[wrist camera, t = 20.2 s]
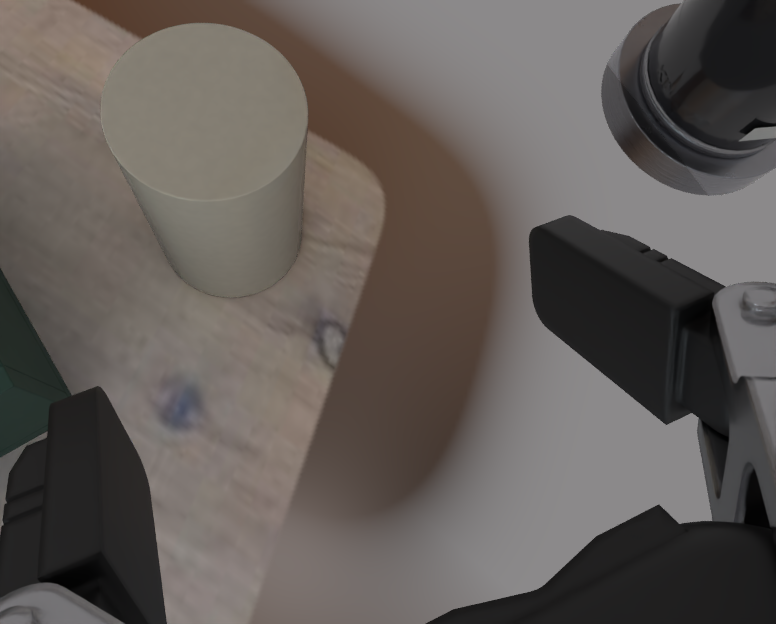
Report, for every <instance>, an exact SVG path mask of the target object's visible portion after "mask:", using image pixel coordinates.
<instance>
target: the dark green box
mask: <svg viewBox="0 0 776 624" xmlns="http://www.w3.org/2000/svg"><path fill="white" fill-rule="evenodd" d="M70 396H72V395H71V393H70V392H69V390H68V388H67V386H66V384H65V383H64V381H63V379H62V377H61V376H60V374H59V372H58V370H57V368H56V367H55V365H54V363H53V361H52V360H51V358H50V356H49V354H48V352H47V351H46V349H45V347H44V345H43V344H42V342H41V340H40V338H39V336H38V335H37V333H36V331H35V329H34V328H33V326H32V324H31V322H30V320H29V319H28V317H27V315H26V313H25V312H24V310H23V308H22V306H21V304H20V303H19V301H18V299H17V297H16V296H15V294H14V292H13V290H12V288H11V287H10V285H9V283H8V281H7V280H6V278H5V276H4V274H3V272H2V271H1V269H0V457H2V456H4V455H5V454H7V453H9V452H11V451H12V450H14V449H16V448H18V447H19V446H21V445H23V444H25V443H26V442H28V441H30V440H32V439H34V438H35V437H37V436H39V435H41V434H42V433H44V432H46V431H48V419H49V407H50V404H51V403H53V402H56V401H59V400H61V399H64V398H67V397H70Z"/></svg>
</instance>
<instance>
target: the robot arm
mask: <svg viewBox="0 0 776 624" xmlns="http://www.w3.org/2000/svg"><path fill="white" fill-rule="evenodd" d="M640 82H641V88H642V91H643V94H644V97H645V100H646V102H647V104H648V106H649V108H650V110H651V111H652V113H653V114H654V116H655V117H656V119H657V120H658V121H659V122H660V124H661V125H662V126H663V127H664V128H665V129H666V130H667V131H668V132H669V133H670V134H671V135H673V136H674V137H675V138H676V139H678V140H679V141H680V142H682V143H684V144H685V145H687V146H688V147H690V148H692V149H694V150H697V151H699V152H701V153H704V154H707V155H711V156H715V157H722V158H740V157H746V156H749V155H752V154H755V153H757V152H759V151H761V150H763V149H764V148H766V147H767V146H769V145H770V144H771V143H773V142H774V141H775V140H776V0H684V1H683V2H682V3H681V4H680V6H679V7H678V8H677V9H676V11H675V12H674V13H673V14H672V16H671V17H670V18H669V19H668V21H667V22H666V23H665V24H663V25H662V26H661V27H660V28H659V29H658V30H657V32H656V33H655V34H654V35H653V37H652V38H651V39H650V40H649V42H648V43H647V45H646V47H645V49H644V51H643V54H642V57H641V62H640ZM529 248H530V249H529V250H530V265H531V283H532V298H533V303H534V307H535V310H536V312H537V315H538V317H539V318H540V320H541V321H542V323H543V324H544V325H545V326H546V327H547V328H548V329H549V330H550V331H551V332H553V333H554V334H555V335H556V336H557V337H559V338H560V339H561V340H562V341H564V342H565V343H566V344H567V345H569V346H570V347H571V348H572V349H573V350H575V351H576V352H577V353H578V354H580V355H581V356H582V357H583V358H585V359H586V360H587V361H588V362H590V363H591V364H592V365H593V366H594V367H596V368H597V369H598V370H599V371H601V372H602V373H603V374H604V375H605V376H607V377H608V378H609V379H610V380H612V381H613V382H614V383H615V384H617V385H618V386H619V387H620V388H622V389H623V390H624V391H625V392H626V393H628V394H629V395H630V396H631V397H633V398H634V399H635V400H636V401H637V402H639V403H640V404H641V405H643V406H644V407H645V408H646V409H647V410H649V411H650V412H651V413H652V414H653V415H655V416H656V417H657V418H658V419H660V420H661V421H662V422H663V423H665V424H666V425H667V424H669V423H671V422H673V421H675V420H678V419H680V418H682V417H684V416H686V415H688V414H690V413H693V414H694V415H696V416H697V417H699V420H698V429H697V433H698V440H699V446H700V452H701V457H702V463H703V468H704V474H705V479H706V485H707V491H708V496H709V502H710V507H711V513H712V521H700V522H690V523H682V524H678V522H677V521H676V520H674V519H673V518H672V517H671V516H670V515H669V514H668V513H667V512H666V511H665V510H664V509H663V508H662V507H661V506H660V505H657V506H655V507H653V508H651V509H649V510H647V511H645V512H643V513H641V514H639V515H638V516H636V517H633V518H631V519H630V520H628V521H626V522H624V523H622V524H620V525H618V526H616V527H614V528H612V529H610V530H608V531H606V532H604V533H602V534H600V535H598V536H596V537H595V538H594V539H593V540H592V541H591V542H590V543H589V544H588V545H587V546H585V547H584V549H582V550H581V551H580V552H579V553H578V554H577V555H576V556H575V557H574V558H573V559H572V560H571V561H569V563H567V564H566V565H565V566H564V567H563V568H562V569H561V570H560V571H559V572H558V573H557V574H556V575H555V576H554V577H553V578H551V579H550V580H549V581H548V582H547V583H546V584H545V585H544V586H542V587H541V588H539V589H537V590H534V591H531V592H527V593H523V594H518V595H514V596H510V597H506V598H501V599H497V600H492V601H488V602H484V603H480V604H475V605H471V606H466V607H462V608H458V609H453V610H451V611H450V612H448V613H446V614H444V615H442V616H440V617H438V618H436V619H434V620H432V621H430V622H428V623H426V624H776V284H774V283H767V282H744V283H738V284H734V285H731V286H728V287H725V286H724V285H721V284H720V283H718V282H716V281H714V280H712V279H710V278H708V277H706V276H704V275H702V274H700V273H699V272H697V271H695V270H693V269H691V268H689V267H687V266H685V265H683V264H681V263H680V262H678V261H676V260H674V259H672V258H671V259H668V258H667V256H666V255H664V254H662V253H660V252H658V251H657V250H655V249H653V250H651V249H650V247H649V246H647V245H645V244H643V243H641V242H639V241H637V240H635V239H634V238H631V237H630V236H626V235H622V234H617V233H613V232H609V231H604V230H599V229H597V228H595V227H593V226H591V225H589V224H587V223H586V222H584V221H582V220H580V219H578V218H576V217H574V216H571V215H568V216H565V217H562V218H559V219H557V220H554V221H551V222H548V223H546V224H543V225H540V226H537V227H535V228H533V229H532V230H531V232H530V236H529ZM6 501H7V504H5V506H4V513H3V520H2V521H3V523H4V525H3V526H2V527H1V535H0V624H167V622H166V614H165V606H164V598H163V590H162V582H161V574H160V566H159V558H158V550H157V542H156V534H155V526H154V518H153V510H152V502H151V494H150V487H149V483H148V479H147V476H146V472H145V469H144V467H143V464H142V462H141V459H140V457H139V455H138V453H137V451H136V449H135V447H134V445H133V443H132V442H131V440H130V438H129V436H128V434H127V432H126V430H125V429H124V427H123V425H122V423H121V421H120V419H119V417H118V416H117V414H116V412H115V410H114V408H113V406H112V404H111V402H110V401H109V399H108V397H107V395H106V394H105V392H104V391H103V389H102V388H101V387H99V386H97V387H94V388H91V389H89V390H86V391H83V392H81V393H78V394H75V395H72V396H70V397H67V398H64V399H61V400H59V401H56V402H53V403H51V404H50V407H49V419H48V433H47V438H46V439H43V440H41V441H38V442H35V443H33V444H30V445H27V446H26V447H25V449H24V450H23V452H22V454H21V455H20V457H19V458H18V460H17V461H16V463H15V465H14V466H13V468H12V469H11V471H10V473H9V477H8V484H7V492H6Z"/></svg>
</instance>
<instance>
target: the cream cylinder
mask: <svg viewBox="0 0 776 624" xmlns="http://www.w3.org/2000/svg"><path fill="white" fill-rule="evenodd" d="M100 118H101V124H102V130H103V133H104V136H105V139H106V142H107V144H108V146H109V147H110V149H111V151H112V153H113V155H114V157H115V159H116V161H117V163H118V165H119V167H120V169H121V171H122V173H123V175H124V177H125V178H126V180H127V182H128V184H129V186H130V188H131V190H132V192H133V194H134V196H135V198H136V200H137V202H138V204H139V206H140V207H141V209H142V211H143V213H144V215H145V217H146V219H147V221H148V223H149V225H150V227H151V229H152V231H153V233H154V235H155V237H156V238H157V240H158V242H159V244H160V246H161V248H162V250H163V252H164V254H165V256H166V258H167V260H168V262H169V264H170V265H171V267H172V268H173V270H174V271H175V272H176V273H177V274H178V275H179V276H180V278H181V279H183V280H184V281H185V282H186V283H188V284H189V285H191V286H192V287H194V288H196V289H198V290H200V291H202V292H204V293H207V294H211V295H214V296H220V297H243V296H248V295H252V294H255V293H258V292H261V291H263V290H265V289H267V288H269V287H271V286H272V285H274V284H275V283H276V282H278V281H279V280H280V279H281V278H282V277H283V276H284V275H285V274H286V273H287V272H288V271H289V269H290V268H291V266H292V265H293V263H294V261H295V259H296V257H297V255H298V252H299V249H300V245H301V238H302V220H303V202H304V184H305V166H306V148H307V130H308V104H307V99H306V95H305V90H304V88H303V85H302V83H301V81H300V78H299V77H298V75H297V73H296V72H295V70H294V68H293V67H292V66H291V64H290V63H289V62H288V61H287V59H286V58H285V57H284V56H283V55H282V54H281V53H280V52H279V51H278V50H276V49H275V48H274V47H273V46H271V45H270V44H269V43H267V42H266V41H264V40H262V39H261V38H259V37H257V36H255V35H253V34H251V33H249V32H247V31H244V30H241V29H238V28H235V27H231V26H226V25H222V24H212V23H191V24H182V25H178V26H173V27H169V28H166V29H163V30H160V31H157V32H155V33H153V34H151V35H149V36H147V37H145V38H144V39H142V40H141V41H139V42H137V43H136V44H135V45H133V46H132V47H131V48H130V49H129V50H127V51H126V52H125V53H124V54H123V56H122V57H121V58H120V59H119V60H118V61H117V63H116V64H115V66H114V67H113V69H112V70H111V72H110V74H109V76H108V78H107V80H106V82H105V85H104V89H103V92H102V97H101V104H100Z"/></svg>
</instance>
